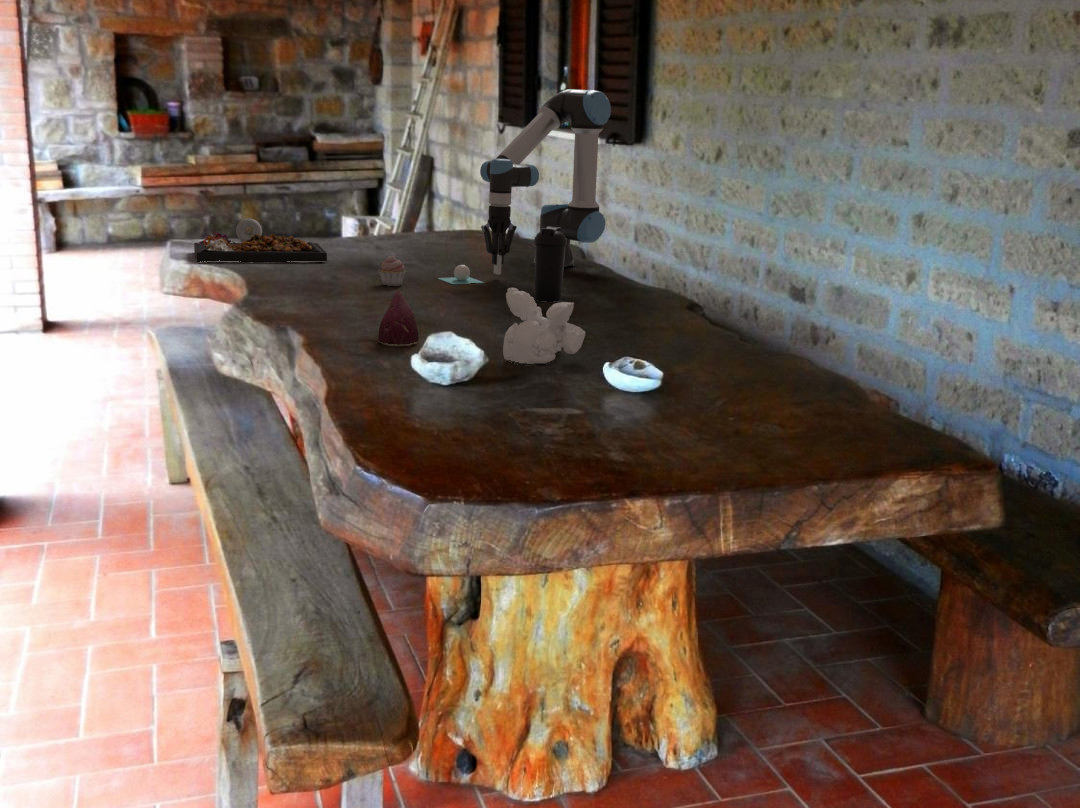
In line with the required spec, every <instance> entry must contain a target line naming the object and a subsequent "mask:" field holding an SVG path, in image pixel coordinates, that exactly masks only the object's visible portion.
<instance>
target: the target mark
mask: <svg viewBox="0 0 1080 808" xmlns="http://www.w3.org/2000/svg"><path fill="white" fill-rule="evenodd" d="M436 279H437V280H439V281H442V282H445V283H447V284H450V285H453V286H454V285H470V284H471V283H476V284H485V282H484V281H481V280H479V279H476V278H473V277H470V276H469V278H468V279H467V280H465V281H459V280H457V279H456V278H455V276H454V277H452V276H451V277H437V278H436Z"/></svg>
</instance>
